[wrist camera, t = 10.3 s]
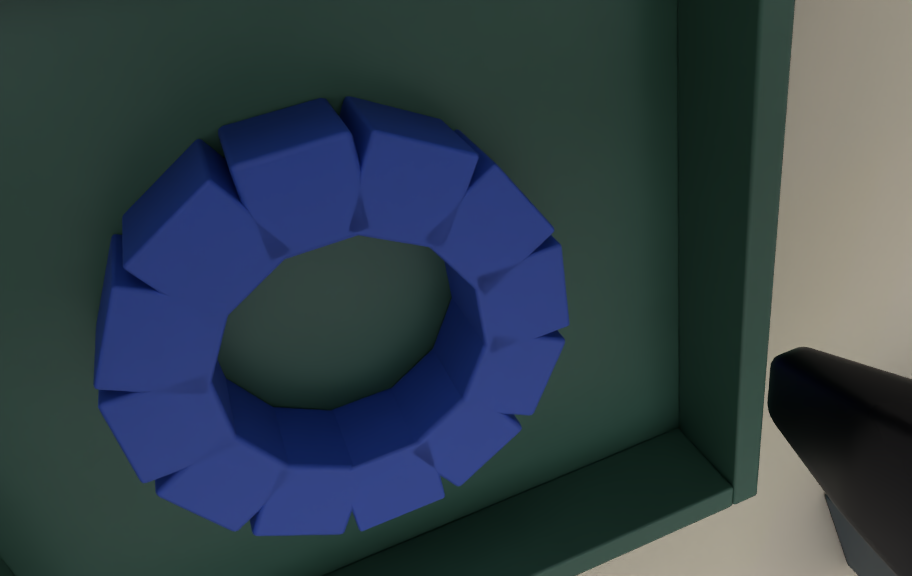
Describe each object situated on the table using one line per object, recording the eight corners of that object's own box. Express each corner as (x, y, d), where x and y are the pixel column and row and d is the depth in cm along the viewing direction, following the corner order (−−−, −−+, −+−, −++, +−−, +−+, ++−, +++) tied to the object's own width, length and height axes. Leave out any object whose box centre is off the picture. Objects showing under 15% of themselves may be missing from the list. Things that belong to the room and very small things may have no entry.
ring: (196, 526, 14) (204, 597, 13) (12, 183, 10) (-4, 235, 9) (544, 390, 16) (582, 442, 14) (498, 44, 12) (545, 72, 10)
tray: (73, 677, 16) (66, 804, 14) (-470, 6, 8) (-658, 67, 6) (688, 422, 19) (757, 495, 17) (691, -244, 11) (817, -258, 9)
